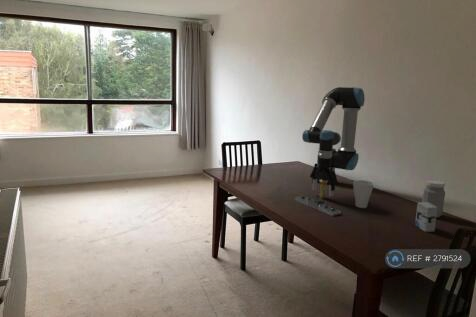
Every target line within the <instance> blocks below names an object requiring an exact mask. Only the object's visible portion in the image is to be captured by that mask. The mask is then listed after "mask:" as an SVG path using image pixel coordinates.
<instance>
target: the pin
mask: <svg viewBox="0 0 476 317" xmlns="http://www.w3.org/2000/svg"><path fill="white" fill-rule="evenodd" d="M319 182H321V183H319V186H320V187H319V198H318V199H321V200H326V189H327V188H326V187H327V184H326V183H327V182H328V180H325V179H320V180H319Z"/></svg>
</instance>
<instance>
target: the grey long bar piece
mask: <svg viewBox="0 0 476 317" xmlns="http://www.w3.org/2000/svg"><path fill="white" fill-rule="evenodd" d="M294 199H295V200H294V201H296V202H298V203H301V204H303V205H305V206H307V207H310V208H312V209H315V210H317V211H318V212H319V211H320V212H322V213H324V214H326V215H329V216H331V217H334V216H338V214H339V215H341V212H342V211H341V209H338V208H335V207H333V206H331V205H328V204H326V203H327V202H326V200H324V199H320V198H315V199H313V198H310V197H308V196H306V195H298V196H295V197H294Z"/></svg>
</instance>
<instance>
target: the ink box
mask: <svg viewBox="0 0 476 317" xmlns="http://www.w3.org/2000/svg"><path fill="white" fill-rule="evenodd" d="M437 209H438V208H437V207H436V206H434V205H432V204H430V203H428V202H422V201H418V202H417V205H416V211H415V212H416V214H415V221H414V226H416V227H417V228H419V229H420V230H422V231H423V232H426V233H427V232H429V233H430V232H431V233H432V232H433V233H434V232H435V231H436V230H435V229H436V223H437V218H436V216H437Z"/></svg>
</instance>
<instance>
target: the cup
mask: <svg viewBox="0 0 476 317" xmlns="http://www.w3.org/2000/svg"><path fill="white" fill-rule="evenodd" d="M374 186H375V184H374V182H372V181H370V180H369V181H368V180H354V181H353V184H352V187H353V194H354V199H355V200H354V202H355V203H354V204H355V207H357V208H360V209H366V208H368V203H369V200H370V198H371V195H372V192H373V189H374Z"/></svg>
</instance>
